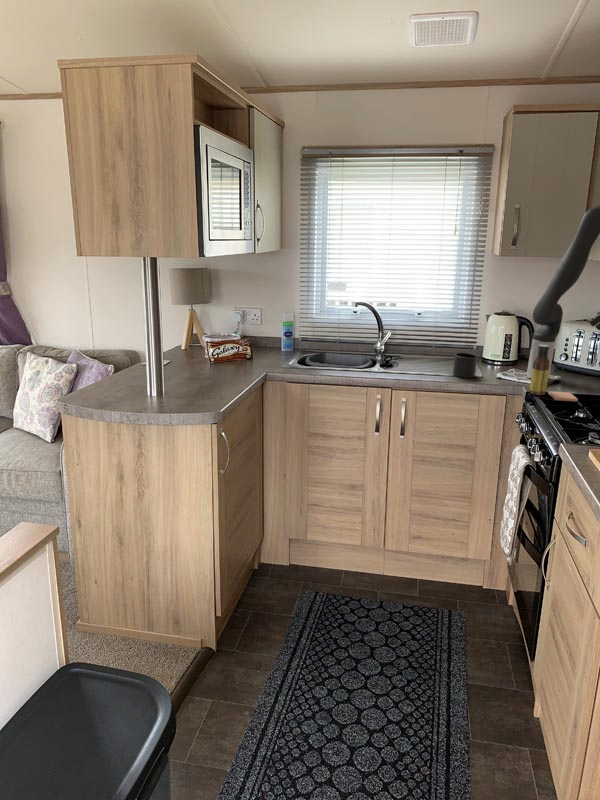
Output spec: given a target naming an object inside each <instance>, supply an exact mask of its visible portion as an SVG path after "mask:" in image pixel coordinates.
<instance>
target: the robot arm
mask: <svg viewBox="0 0 600 800" xmlns="http://www.w3.org/2000/svg"><path fill="white" fill-rule="evenodd" d="M576 231H577V232H576V234H575V235H574V237H573V238H574V239H573V240H572V242H571V244H570V245H569V247H568V248H567V250H566V252H565V253H564V255H563V256H562V259H561V260H560V263H559V264H558V266H557V268H556V270H555V272H554V274H553V276H552V278H551V280H550V282H549V283H548V285H547V287H546V289H545V291H544V293H543V294H542V296H541V297H540V299H539V300H538V302H537V303H536V305H535V307H534V309H533V312H532V319H533V322H534V323H535V324H537V325H538V326H539V325H540V327H539V328H538V329H537V330H536V331H534V332H533V335H532V340H531V346H530V352H529V359H528V363H527V364H528V365H527V370H526V375H527V376H528V377H530V378H531V376H532V368H533V364H534V361H535V359H536V357H537V354H538V345H548V346H549V350H548V360H549V374H548V378H549V377H550V373H551V368H552V367H551V366H552V362H553V355H554V351H555V345H556V340H557V337H558V335H559V333H560V329H561V324H562V321H563V315H564V314H563V313H564V312H563V311H564V310H563V308H562V306H561V305H560V304H559V301H560V299H561V298H562V296H563V295H564V294H566V292H568V291H569V290H570V289H571V288H572V287H573V286H574V285H575V284H576V283H577V282H578V281H579V278H580V277H581V275H582V273H583V271H584V270H585V267H586V264H587V263H588V260H589V257H590V252H591V249H592V247H593V245H594V244H595V242H596V240H597V238H598V237H599V236H600V205H596V206H593V207H591V208H590V209H588V210H586V211H585V213H584V215H583V216H582V218H581V221H580V224H579V226H578V229H577V230H576ZM596 314H597V315H596V316H595V317H594V318H592V319H591V320H590V321H589V325H590V326H591V327H595V328H596V330H598V331H600V311H598V312H597V313H596ZM549 379H550V378H549Z"/></svg>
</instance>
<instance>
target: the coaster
mask: <svg viewBox="0 0 600 800" xmlns="http://www.w3.org/2000/svg"><path fill="white" fill-rule="evenodd" d="M547 393H548V395H549V396H550V397H551V398H552V399H553V400H554V401H560V402H561V401H563V402H578V401H579V399H578V398H577V397H576V396H575V395H574V394H572V393H571V392H567V391H565V392H564V391H552V390H551V391H549V390H548V392H547Z"/></svg>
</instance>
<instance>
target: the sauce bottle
mask: <svg viewBox="0 0 600 800" xmlns="http://www.w3.org/2000/svg"><path fill="white" fill-rule="evenodd" d="M548 350H549V346H548V345H538V354H537V357H536V359H535V361H534V364H533V368H532V376H531V379H530V385H529V393H530V394H533V395H535V396H545V395H546V391H547V388H548V387H547V386H548V381H549V379H548V374H549V360H548ZM549 375H550V374H549Z"/></svg>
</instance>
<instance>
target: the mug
mask: <svg viewBox="0 0 600 800" xmlns="http://www.w3.org/2000/svg"><path fill="white" fill-rule="evenodd" d="M477 362H478V355H476V354H474V353H469V352H458V353H457V352H456V353H455V354H454V361H453V369H452V375H453V376H455V377H457V378H462V379H473V378H474V377H476V369H477Z"/></svg>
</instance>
